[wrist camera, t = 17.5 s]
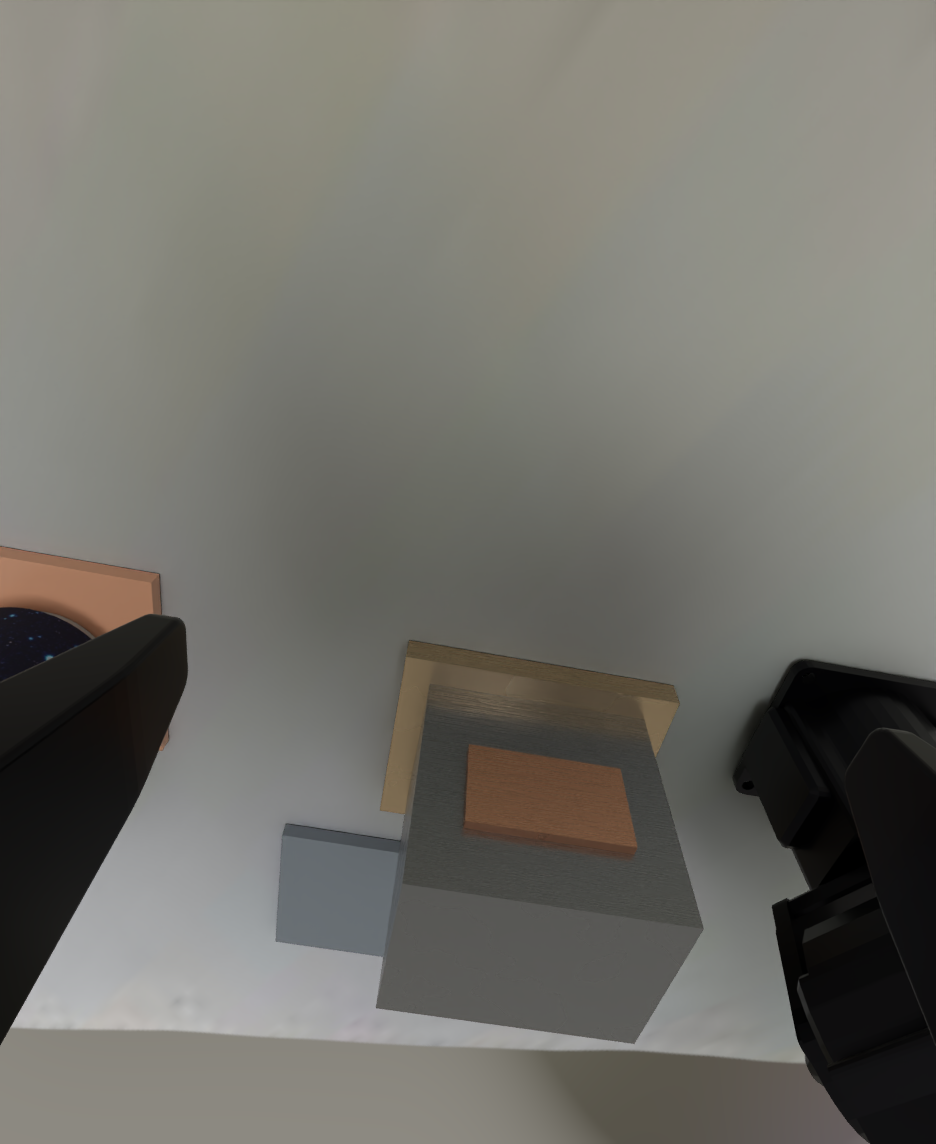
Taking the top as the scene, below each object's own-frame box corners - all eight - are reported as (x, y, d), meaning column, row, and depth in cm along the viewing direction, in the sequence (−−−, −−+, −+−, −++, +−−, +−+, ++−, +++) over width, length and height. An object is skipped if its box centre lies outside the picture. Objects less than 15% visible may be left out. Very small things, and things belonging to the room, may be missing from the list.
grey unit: (673, 685, 25) (755, 911, 17) (611, 827, 29) (655, 1064, 21) (409, 640, 24) (367, 852, 16) (383, 791, 28) (340, 1020, 20)
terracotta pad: (159, 573, 23) (151, 582, 23) (168, 740, 27) (162, 750, 27) (-77, 533, 23) (-90, 541, 22) (-32, 708, 27) (-43, 718, 26)
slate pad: (463, 851, 30) (463, 862, 29) (435, 952, 34) (434, 964, 33) (286, 823, 29) (282, 835, 29) (278, 929, 33) (275, 941, 33)
